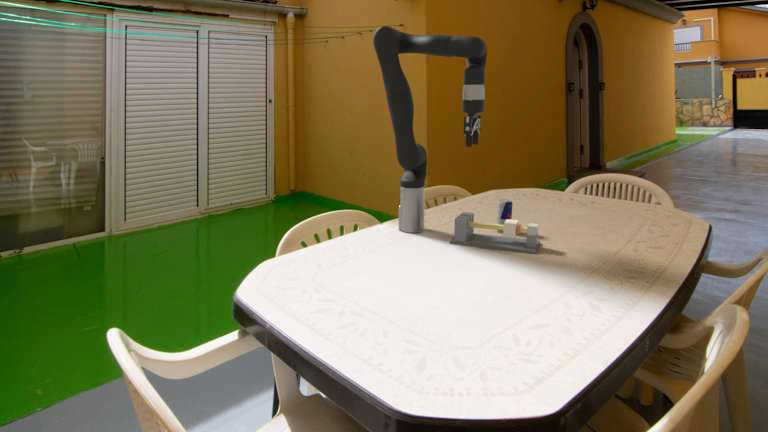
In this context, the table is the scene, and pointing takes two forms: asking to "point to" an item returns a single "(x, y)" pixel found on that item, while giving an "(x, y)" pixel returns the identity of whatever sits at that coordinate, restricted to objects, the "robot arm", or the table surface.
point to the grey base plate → (498, 243)
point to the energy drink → (504, 212)
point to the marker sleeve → (510, 228)
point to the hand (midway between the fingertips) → (472, 145)
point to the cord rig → (467, 225)
